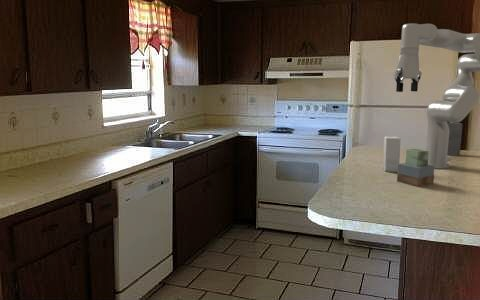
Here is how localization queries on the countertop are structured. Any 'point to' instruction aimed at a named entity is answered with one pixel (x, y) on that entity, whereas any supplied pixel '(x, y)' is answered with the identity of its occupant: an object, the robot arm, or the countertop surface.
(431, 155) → the robot arm
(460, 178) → the countertop surface
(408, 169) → the slab top
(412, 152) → the sage block
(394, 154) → the skincare box
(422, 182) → the slab bottom
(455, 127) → the dark grey upright block
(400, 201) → the countertop surface
